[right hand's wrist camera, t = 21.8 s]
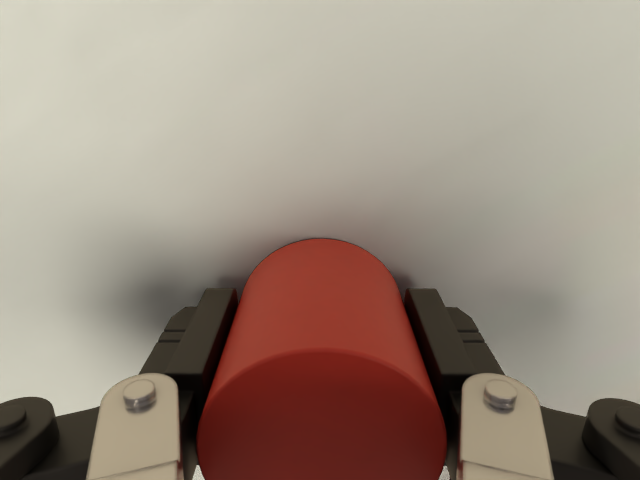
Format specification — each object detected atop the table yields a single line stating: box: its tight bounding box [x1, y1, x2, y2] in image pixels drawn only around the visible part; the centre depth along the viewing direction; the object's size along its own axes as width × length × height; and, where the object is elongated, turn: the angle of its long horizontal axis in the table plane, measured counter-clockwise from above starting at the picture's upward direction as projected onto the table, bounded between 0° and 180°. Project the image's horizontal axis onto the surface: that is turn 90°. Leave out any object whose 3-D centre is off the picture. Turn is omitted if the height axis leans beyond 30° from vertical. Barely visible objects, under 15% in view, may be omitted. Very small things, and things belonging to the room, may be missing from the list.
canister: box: [196, 239, 447, 480], centre depth 10 cm, size 4×4×5 cm
